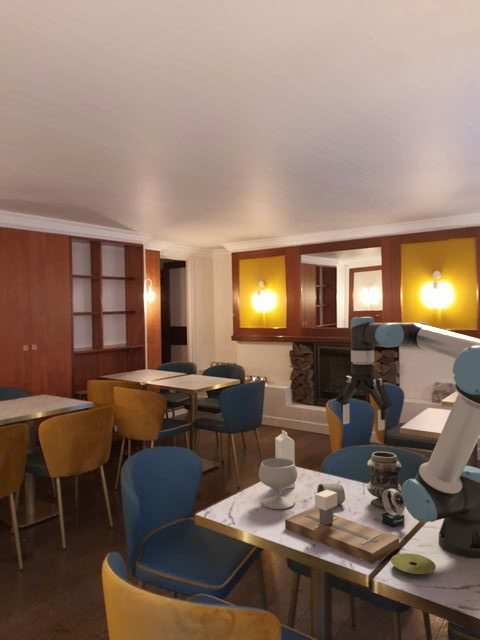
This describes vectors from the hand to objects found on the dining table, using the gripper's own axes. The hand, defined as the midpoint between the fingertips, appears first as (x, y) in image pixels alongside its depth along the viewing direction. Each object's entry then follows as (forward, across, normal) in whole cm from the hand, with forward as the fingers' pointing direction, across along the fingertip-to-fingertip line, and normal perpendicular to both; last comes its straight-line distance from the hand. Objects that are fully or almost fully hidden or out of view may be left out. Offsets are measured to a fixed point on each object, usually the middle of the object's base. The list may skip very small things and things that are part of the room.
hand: (363, 426), depth 166 cm
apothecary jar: (+31, +2, -16) cm, 35 cm away
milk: (+31, +40, -5) cm, 51 cm away
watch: (+31, -9, -3) cm, 32 cm away
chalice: (+31, +29, +11) cm, 44 cm away
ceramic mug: (+31, +17, -3) cm, 35 cm away
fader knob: (+27, +2, +18) cm, 33 cm away
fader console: (+31, -3, +18) cm, 36 cm away
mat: (+31, -28, +20) cm, 46 cm away
